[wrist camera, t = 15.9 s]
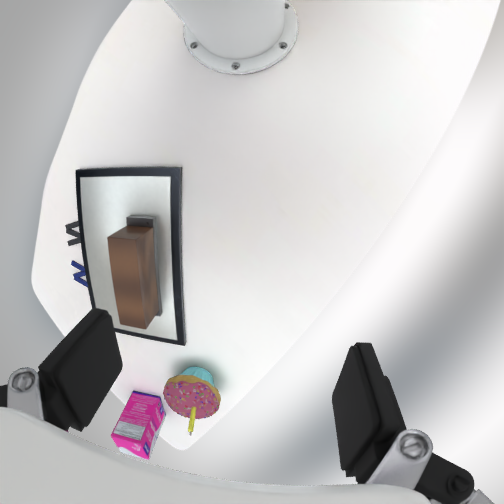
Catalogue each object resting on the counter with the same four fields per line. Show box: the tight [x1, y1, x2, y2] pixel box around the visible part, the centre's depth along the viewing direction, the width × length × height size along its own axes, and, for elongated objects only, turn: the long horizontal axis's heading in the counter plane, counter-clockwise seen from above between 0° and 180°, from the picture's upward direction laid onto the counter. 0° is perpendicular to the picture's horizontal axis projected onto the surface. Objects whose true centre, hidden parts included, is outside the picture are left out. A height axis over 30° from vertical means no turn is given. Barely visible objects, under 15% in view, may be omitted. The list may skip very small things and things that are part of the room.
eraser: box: [107, 215, 162, 330], centre depth 32 cm, size 13×4×6 cm, turn 176°
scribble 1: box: [65, 221, 81, 246], centre depth 35 cm, size 4×3×1 cm
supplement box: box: [111, 391, 166, 460], centre depth 40 cm, size 6×6×12 cm
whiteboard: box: [76, 167, 186, 346], centre depth 35 cm, size 24×15×1 cm, turn 176°
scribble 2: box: [71, 261, 88, 287], centre depth 37 cm, size 4×3×1 cm
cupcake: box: [163, 367, 221, 436], centre depth 36 cm, size 9×8×12 cm
